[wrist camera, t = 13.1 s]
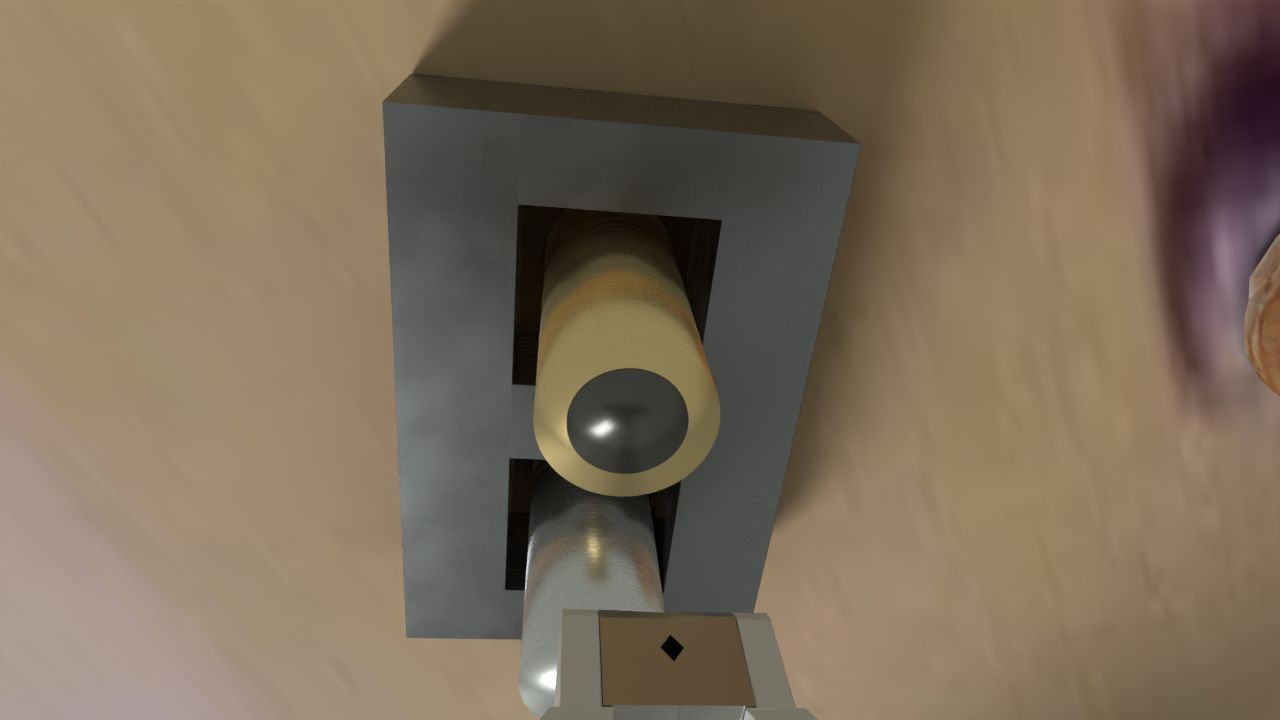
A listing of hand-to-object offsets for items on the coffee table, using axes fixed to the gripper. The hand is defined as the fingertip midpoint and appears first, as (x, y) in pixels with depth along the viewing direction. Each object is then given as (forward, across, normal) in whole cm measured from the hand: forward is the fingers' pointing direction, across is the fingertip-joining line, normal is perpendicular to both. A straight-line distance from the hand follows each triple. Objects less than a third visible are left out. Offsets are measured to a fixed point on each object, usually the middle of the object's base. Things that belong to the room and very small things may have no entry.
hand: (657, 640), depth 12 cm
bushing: (+16, 0, 0) cm, 16 cm away
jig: (+16, 0, -4) cm, 17 cm away
